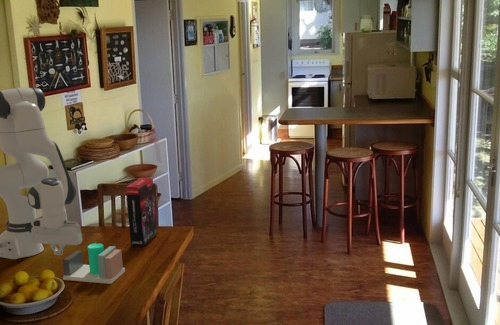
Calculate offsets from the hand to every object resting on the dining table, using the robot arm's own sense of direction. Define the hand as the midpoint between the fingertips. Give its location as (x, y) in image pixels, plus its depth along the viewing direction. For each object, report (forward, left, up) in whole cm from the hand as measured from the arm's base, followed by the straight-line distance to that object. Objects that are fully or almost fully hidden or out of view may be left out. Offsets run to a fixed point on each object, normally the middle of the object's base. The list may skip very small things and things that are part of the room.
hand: (58, 254), depth 233 cm
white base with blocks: (+14, 0, -8) cm, 16 cm away
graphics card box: (+17, +40, -8) cm, 45 cm away
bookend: (+6, 0, -6) cm, 8 cm away
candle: (+15, +1, -6) cm, 17 cm away
